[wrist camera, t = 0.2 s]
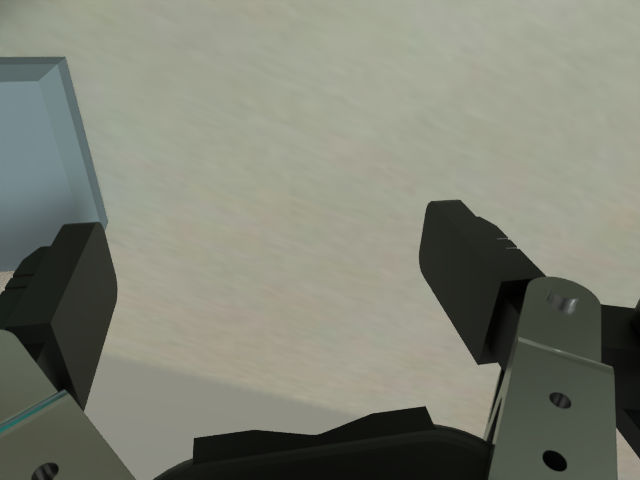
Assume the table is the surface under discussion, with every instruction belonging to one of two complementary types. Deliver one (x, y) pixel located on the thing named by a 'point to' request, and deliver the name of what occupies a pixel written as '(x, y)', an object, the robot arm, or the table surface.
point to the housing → (41, 158)
